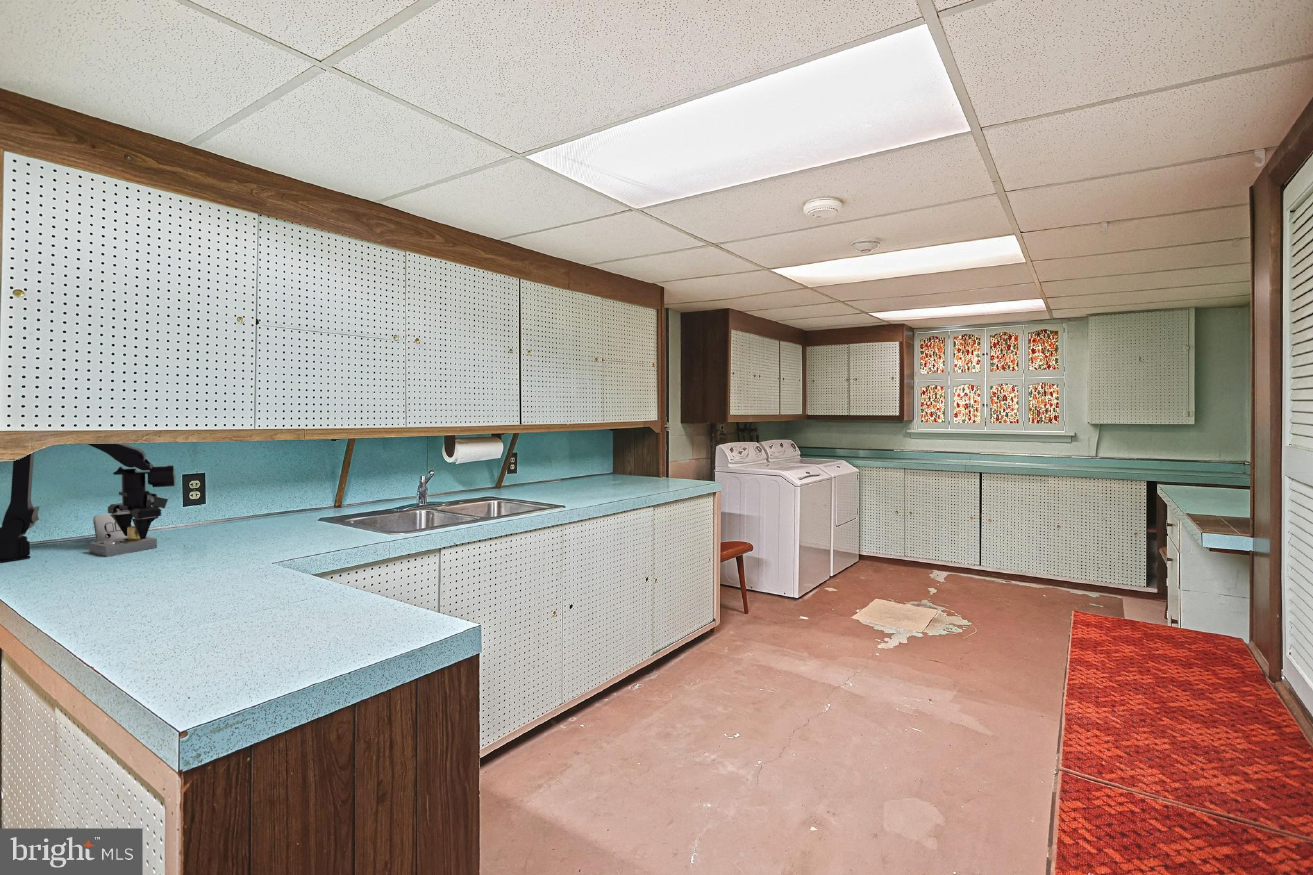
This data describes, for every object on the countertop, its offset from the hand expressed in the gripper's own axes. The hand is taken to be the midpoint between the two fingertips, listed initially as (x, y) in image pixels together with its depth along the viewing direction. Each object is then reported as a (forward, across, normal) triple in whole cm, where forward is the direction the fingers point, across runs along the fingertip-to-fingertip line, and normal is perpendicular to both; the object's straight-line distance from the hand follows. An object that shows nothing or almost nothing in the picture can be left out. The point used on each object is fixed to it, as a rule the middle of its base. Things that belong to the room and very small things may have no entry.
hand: (135, 537), depth 194 cm
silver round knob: (+4, 0, +6) cm, 7 cm away
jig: (+4, 0, +3) cm, 5 cm away
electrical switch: (+4, +19, -2) cm, 19 cm away
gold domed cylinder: (+4, 0, 0) cm, 4 cm away
